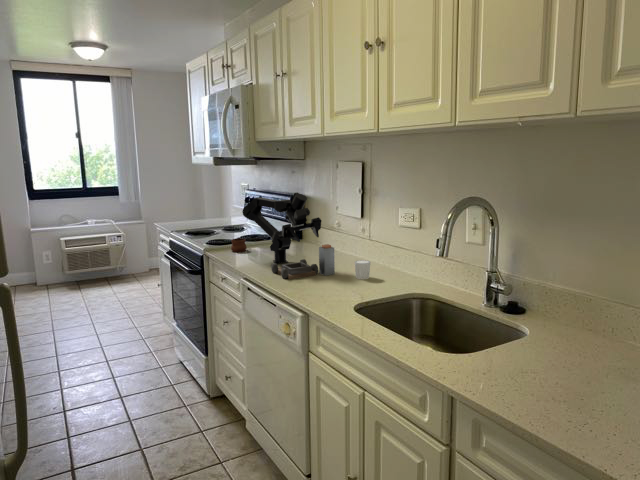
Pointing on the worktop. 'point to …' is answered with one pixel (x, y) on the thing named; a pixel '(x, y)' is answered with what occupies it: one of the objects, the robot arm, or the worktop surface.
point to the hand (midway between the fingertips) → (309, 238)
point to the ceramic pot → (238, 245)
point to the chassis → (295, 270)
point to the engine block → (326, 260)
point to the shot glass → (362, 269)
